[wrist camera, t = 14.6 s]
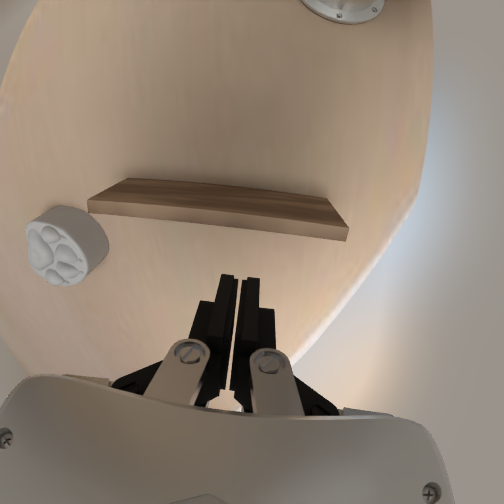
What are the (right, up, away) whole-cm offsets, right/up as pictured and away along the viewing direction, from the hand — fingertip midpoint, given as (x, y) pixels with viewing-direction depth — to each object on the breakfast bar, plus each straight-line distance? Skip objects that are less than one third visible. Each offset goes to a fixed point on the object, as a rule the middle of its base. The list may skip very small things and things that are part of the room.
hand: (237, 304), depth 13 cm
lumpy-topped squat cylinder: (-29, +5, +29) cm, 41 cm away
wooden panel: (-3, +10, +25) cm, 27 cm away
